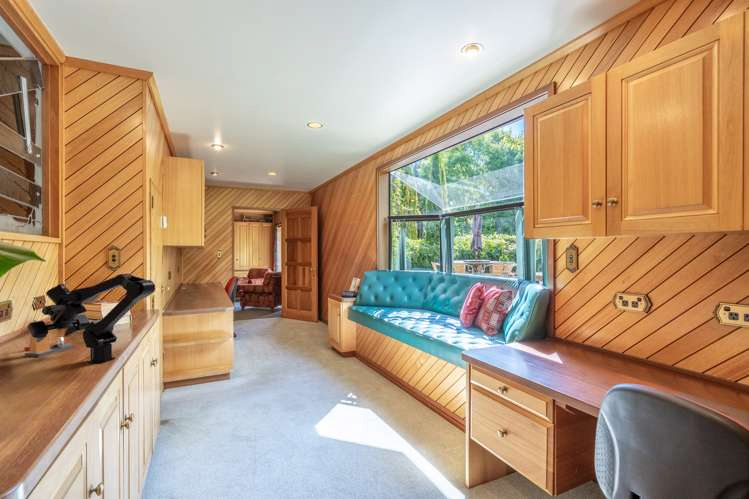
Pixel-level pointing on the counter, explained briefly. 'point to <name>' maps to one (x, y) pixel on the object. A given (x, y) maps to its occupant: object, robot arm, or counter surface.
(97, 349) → the robot arm
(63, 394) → the counter surface
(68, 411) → the counter surface
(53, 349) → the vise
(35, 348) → the orange sleeve
